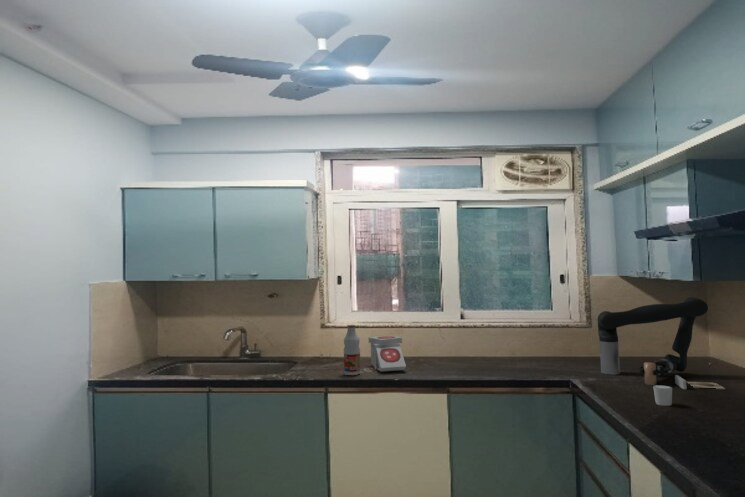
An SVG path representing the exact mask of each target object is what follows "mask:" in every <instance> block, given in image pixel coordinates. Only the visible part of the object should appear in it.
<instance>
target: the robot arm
mask: <svg viewBox="0 0 745 497" xmlns="http://www.w3.org/2000/svg"><path fill="white" fill-rule="evenodd" d="M708 310H709V306H708V304H707V303H706V301H704V300H703V299H700V298H698V297H695V296H691V297H687V298H685V300H683V302H678V303H655V304H648V305H647V304H646V305H642V306H638V307H635V308H632V309H629V310H625V311H616V312H615V311H613V312H611V311H607V310H604V311H602V312H600V313H599V314H598V315H597V316H598V317H597V331H598V333H597V334H598V340H599V355H600V356H599V357H600V372H601V374H604V375H611V376H612V375H613V376H614V375H615V376H616V375H620V374H621V368H620V367H621V366H620V349H619V347H620V346H619V336H618V331H617V328H620V327H624V326H630V325H642V324H652V323H659V322H664V321H668V320H674V319H679V318H680V321H679V323H678V324H679V325H678V328H677V332H676V335H675V338H674V340H673V344H672V347H671V349H672V351H674V352H675V353H677V354H678V355H679V356H676V355H674V354H669V353H668V354H666V355H665V356H664V358H660V359H657V360H655V361H652V363H656V370H654V371H653V375H656V377H663V376H664V377H665V376H666V375H672V372H675V371H676V372H679V373H682V372H685V371H686V370H687V366H688V352H689V348H690V346H691V343H692V338H693V327H694V323H695V320H696V318H697V317H702V316H704V315H705V314H707V312H708ZM639 372H640V374H643V375H644V364H641V365H640V366H639Z"/></svg>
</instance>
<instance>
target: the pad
mask: <svg viewBox="0 0 745 497" xmlns="http://www.w3.org/2000/svg"><path fill="white" fill-rule="evenodd" d="M686 384H688V385H689V384H690V385H689V386H691V387H692V386H693V388H694V389H699V388H716V389H715V390H726V387H724V386H722V385H720V384H718V383H716V382H715V383H714V382H712V381H710V382H709V381H707V382H706V381H686Z"/></svg>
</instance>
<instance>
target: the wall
mask: <svg viewBox="0 0 745 497" xmlns="http://www.w3.org/2000/svg"><path fill="white" fill-rule="evenodd" d="M674 380H675V381H674V382H675V385H677V386H678V387H679V388H681V389H683V390H687V389H688V388H687V380H686V379H684V378H682V377H681V376H680V375H678V374H674Z"/></svg>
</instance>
